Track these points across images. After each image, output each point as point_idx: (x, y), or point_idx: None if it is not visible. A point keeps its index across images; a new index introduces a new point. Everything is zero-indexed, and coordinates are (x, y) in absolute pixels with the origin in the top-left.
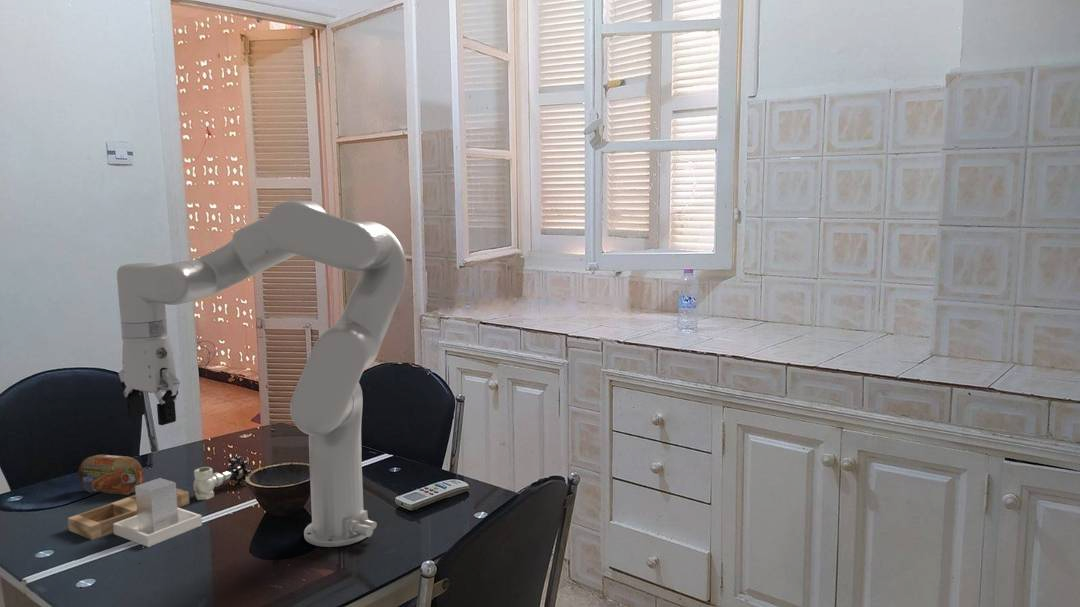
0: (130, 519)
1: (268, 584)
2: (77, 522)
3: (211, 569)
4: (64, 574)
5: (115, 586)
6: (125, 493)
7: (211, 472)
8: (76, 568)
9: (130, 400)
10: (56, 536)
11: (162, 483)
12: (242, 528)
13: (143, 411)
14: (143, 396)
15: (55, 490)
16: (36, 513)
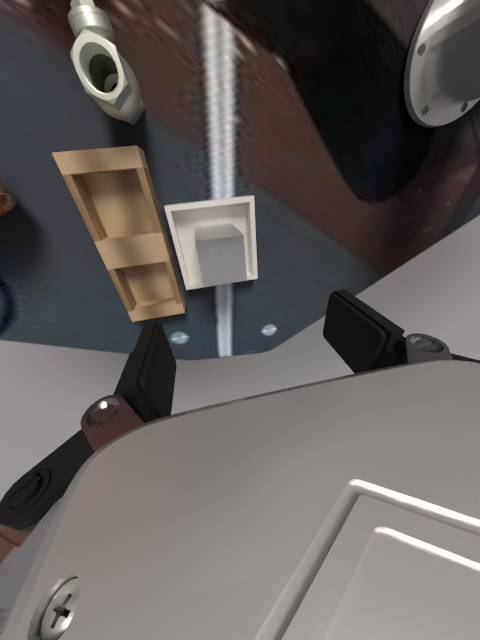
0: (185, 269)
1: (417, 233)
2: (155, 317)
3: (347, 252)
4: (240, 337)
5: (295, 318)
6: (3, 206)
7: (118, 54)
8: (236, 328)
9: (167, 413)
10: (138, 322)
11: (229, 252)
12: (301, 154)
13: (160, 333)
14: (147, 377)
15: None
16: (28, 320)
